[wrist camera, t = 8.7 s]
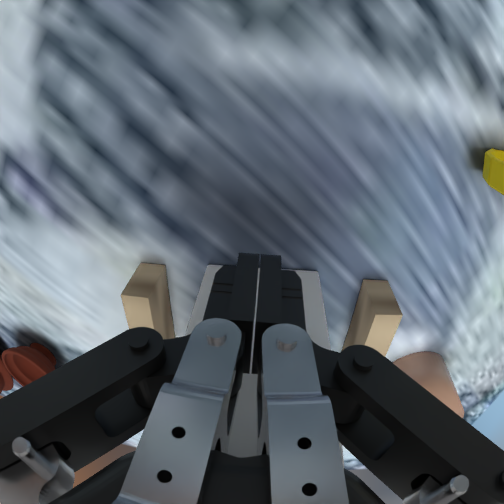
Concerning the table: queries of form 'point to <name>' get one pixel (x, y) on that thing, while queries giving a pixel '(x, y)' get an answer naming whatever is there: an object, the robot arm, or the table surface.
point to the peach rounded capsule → (432, 377)
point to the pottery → (25, 365)
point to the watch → (494, 169)
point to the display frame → (360, 333)
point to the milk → (245, 414)
